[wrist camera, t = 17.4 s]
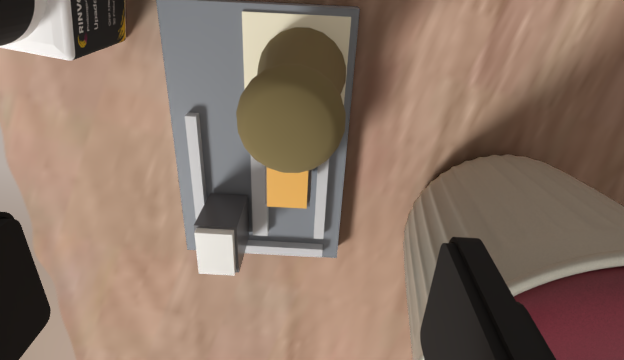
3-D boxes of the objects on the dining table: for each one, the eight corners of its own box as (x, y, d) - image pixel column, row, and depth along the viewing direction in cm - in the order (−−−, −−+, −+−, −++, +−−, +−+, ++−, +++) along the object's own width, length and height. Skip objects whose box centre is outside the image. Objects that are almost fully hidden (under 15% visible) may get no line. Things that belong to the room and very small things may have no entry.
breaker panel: (358, 6, 27) (360, 10, 25) (336, 247, 36) (336, 263, 34) (164, -4, 27) (151, -1, 25) (192, 239, 36) (184, 255, 34)
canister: (571, 290, 38) (807, 603, 19) (377, 301, 39) (423, 603, 21) (616, 103, 30) (1112, 339, 11) (368, 127, 31) (431, 371, 12)
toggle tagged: (314, 126, 29) (312, 156, 25) (311, 175, 31) (309, 211, 27) (272, 124, 29) (263, 153, 25) (272, 173, 31) (263, 208, 27)
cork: (363, 55, 27) (383, 106, 17) (320, 130, 29) (316, 212, 20) (281, 9, 26) (253, 35, 16) (243, 91, 28) (200, 158, 18)
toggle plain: (247, 195, 32) (234, 232, 28) (249, 236, 34) (237, 277, 29) (210, 193, 32) (191, 230, 28) (213, 234, 34) (196, 275, 29)
